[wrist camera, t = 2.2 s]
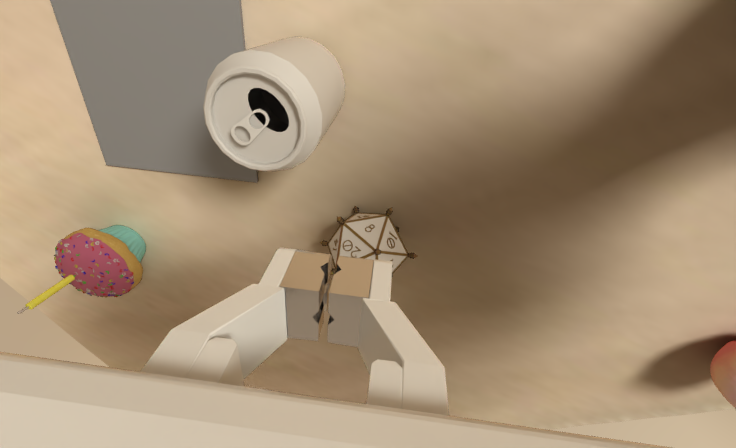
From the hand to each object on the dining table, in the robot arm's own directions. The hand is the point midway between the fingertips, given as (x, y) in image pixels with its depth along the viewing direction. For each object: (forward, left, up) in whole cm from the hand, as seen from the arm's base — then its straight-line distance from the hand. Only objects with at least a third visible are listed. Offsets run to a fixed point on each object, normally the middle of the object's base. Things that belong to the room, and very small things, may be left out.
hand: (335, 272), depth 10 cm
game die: (0, +14, -24) cm, 28 cm away
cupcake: (+29, +20, -24) cm, 43 cm away
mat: (+20, 0, -24) cm, 31 cm away
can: (+7, 0, -24) cm, 25 cm away
